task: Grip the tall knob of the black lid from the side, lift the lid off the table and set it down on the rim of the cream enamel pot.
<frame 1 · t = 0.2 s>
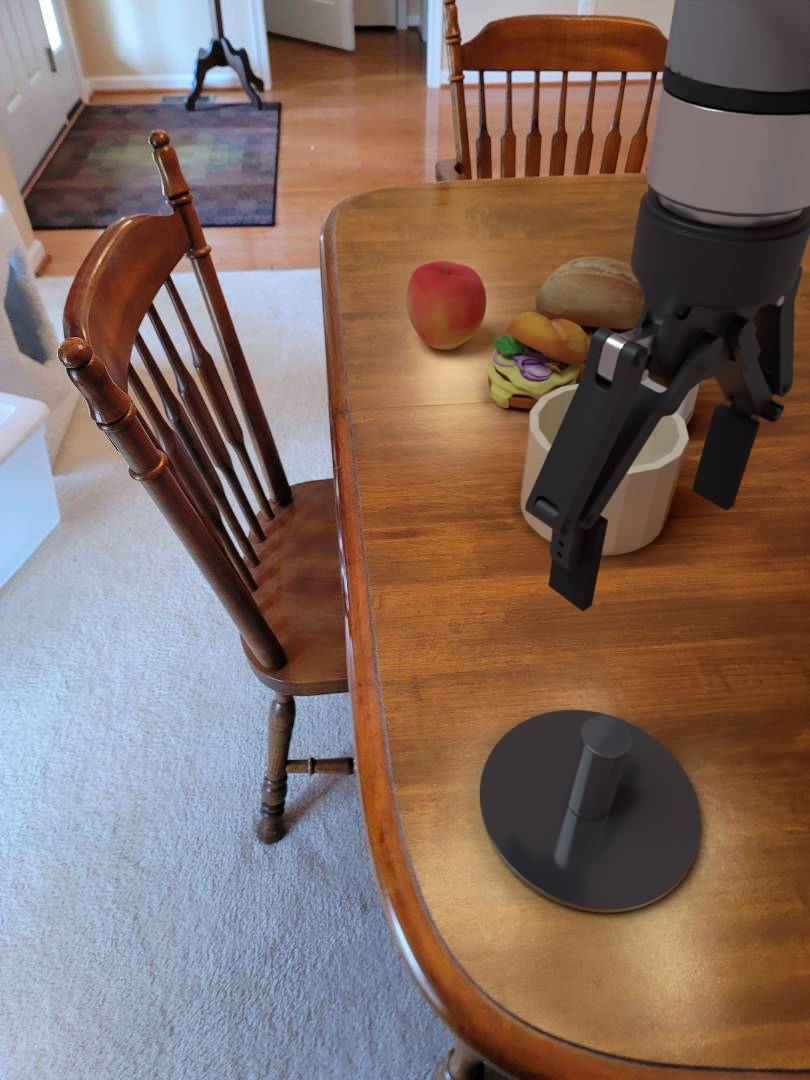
hand: (645, 544, 52), 17 cm above the table, tool pointing down, fingers open, 13 cm apart
cheeseburger: (531, 391, 94), on the table
food container: (688, 241, 124), on the table
lid: (587, 803, 56), point 1 cm above the table
pot: (591, 506, 79), on the table
bread roll: (592, 324, 106), on the table
apple: (444, 345, 102), on the table
syrup box: (657, 423, 90), on the table
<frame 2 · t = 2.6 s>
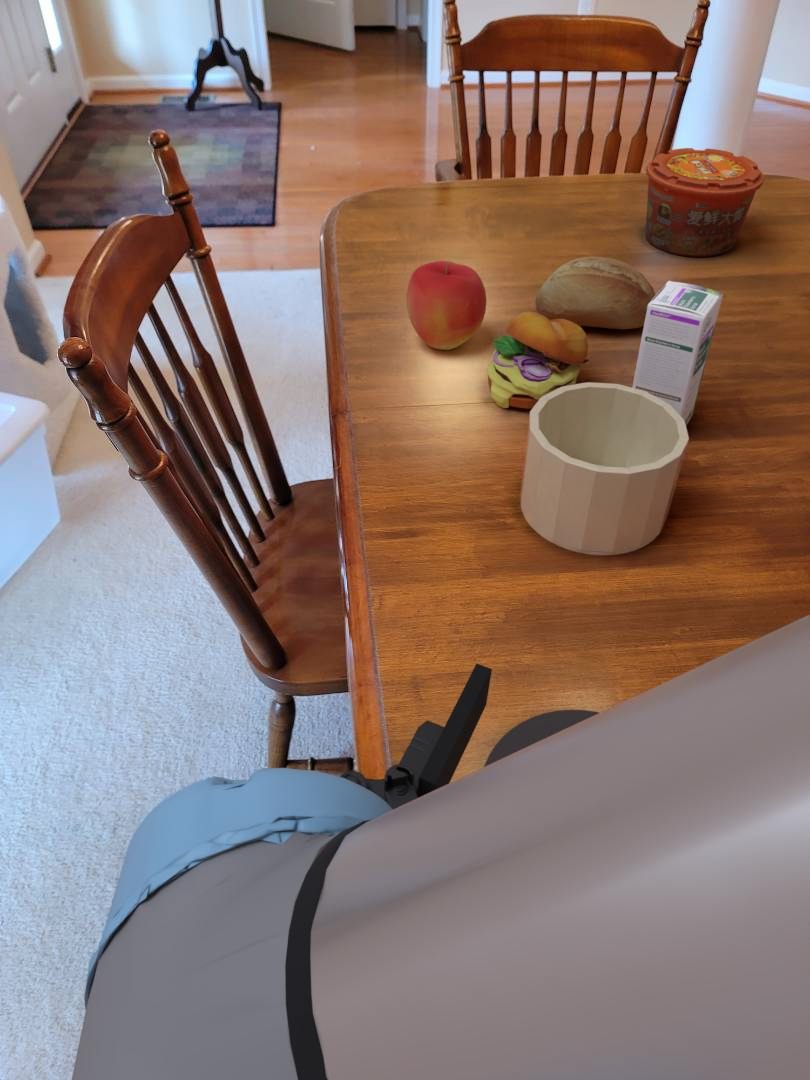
hand: (625, 737, 37), 20 cm above the table, tool horizontal, fingers open, 13 cm apart
nothing on the table moved.
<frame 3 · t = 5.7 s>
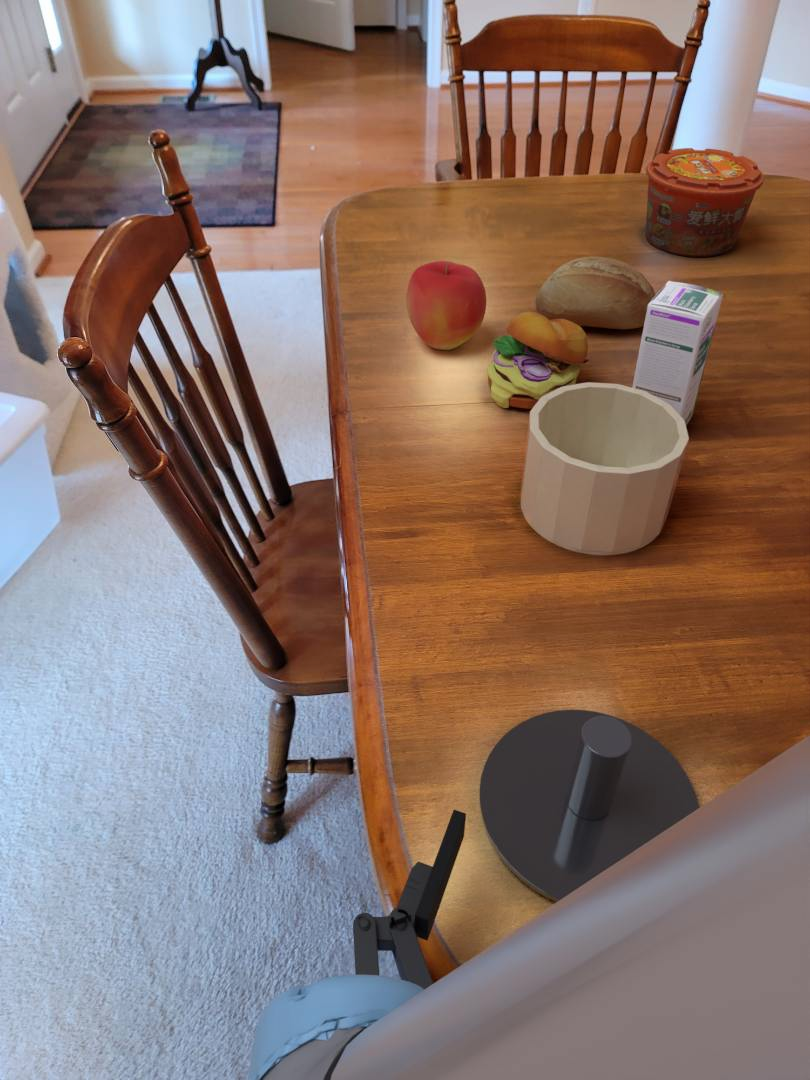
hand: (572, 861, 48), 6 cm above the table, tool horizontal, fingers open, 13 cm apart
nothing on the table moved.
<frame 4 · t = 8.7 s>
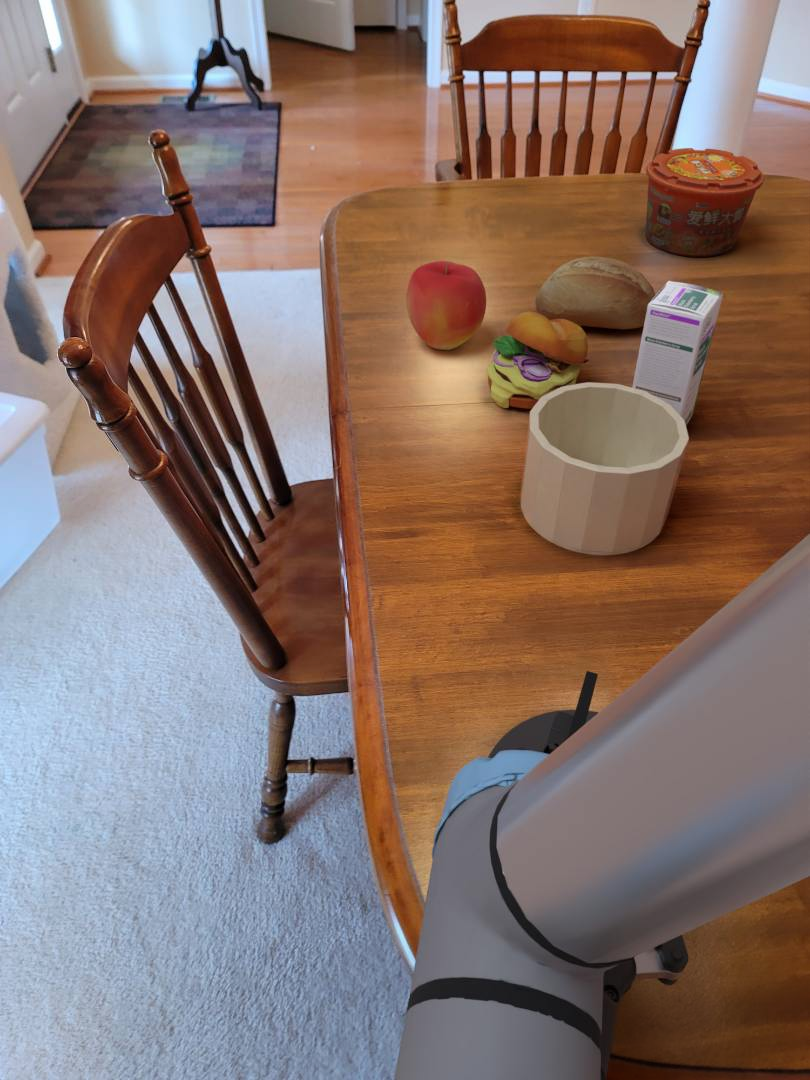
hand: (616, 693, 56), 6 cm above the table, tool horizontal, fingers closed on lid, 3 cm apart
lid: (587, 803, 56), point 1 cm above the table, touching gripper
everything else where it was.
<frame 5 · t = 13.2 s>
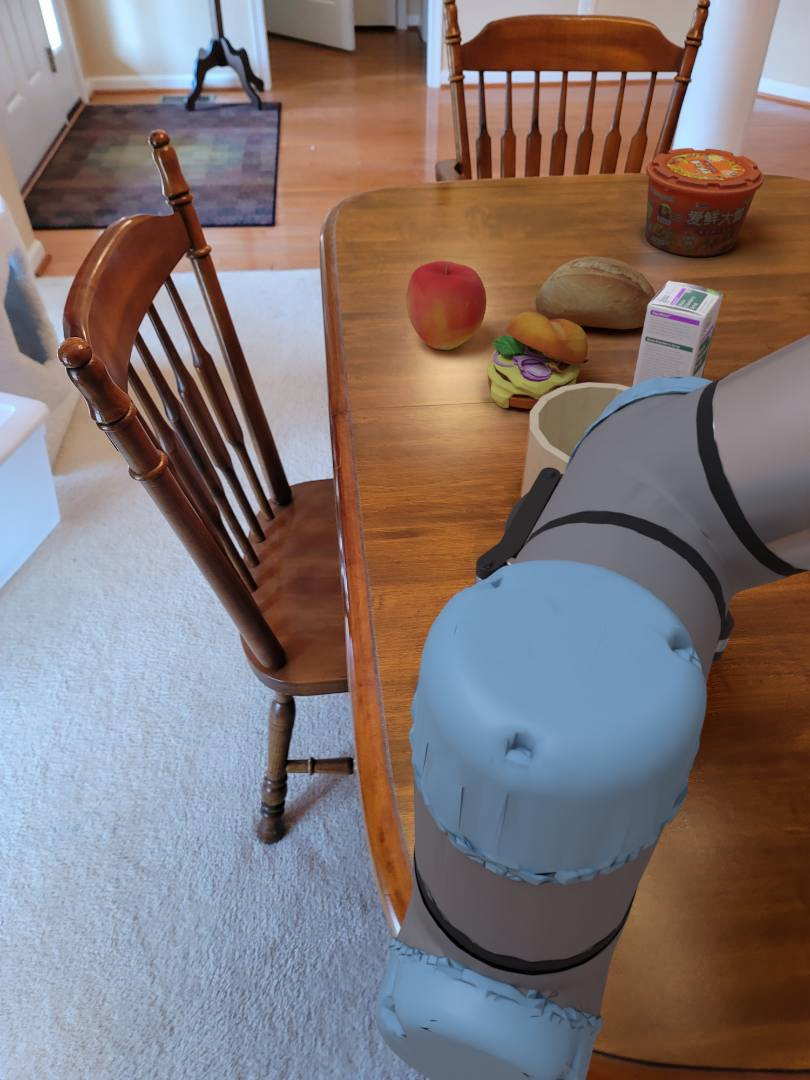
hand: (644, 433, 54), 20 cm above the table, tool horizontal, fingers closed on lid, 3 cm apart
lid: (616, 547, 54), point 15 cm above the table, touching gripper
everything else where it was.
when the fingers open (15 cm above the table, at t = 17.6 s): lid stays where it is, resting on pot.
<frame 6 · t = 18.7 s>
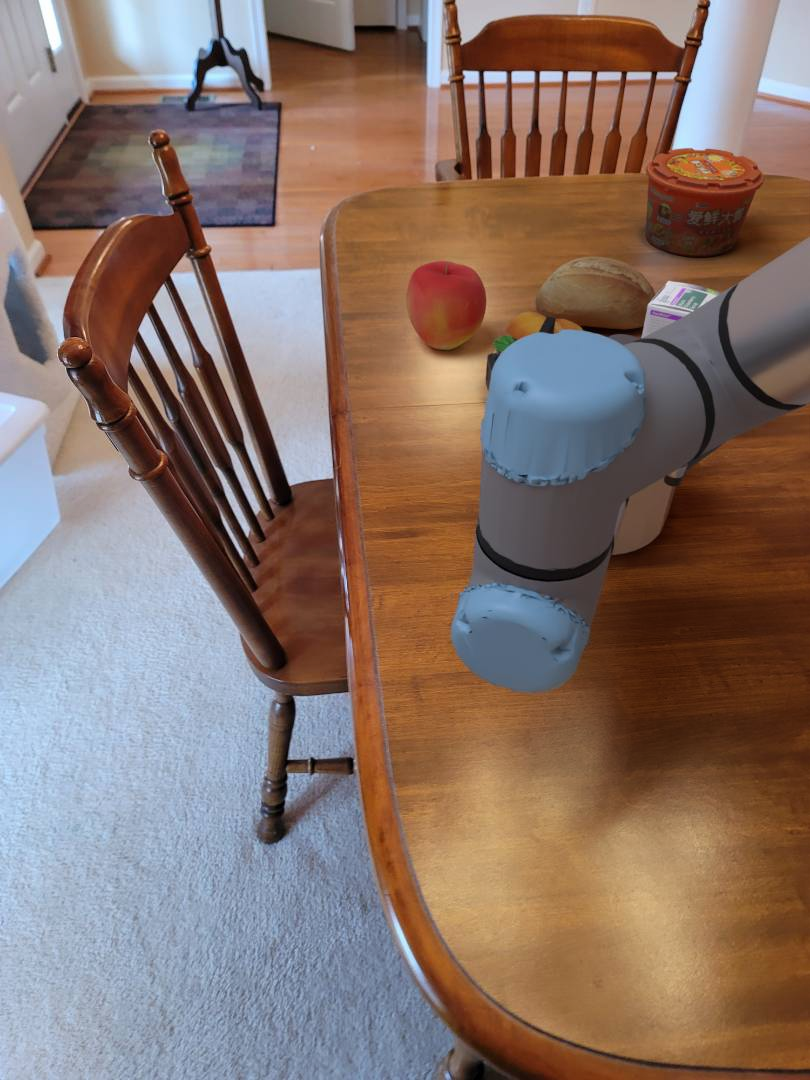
hand: (627, 344, 71), 16 cm above the table, tool horizontal, fingers open, 13 cm apart
lid: (607, 424, 73), point 9 cm above the table, touching pot
everything else where it was.
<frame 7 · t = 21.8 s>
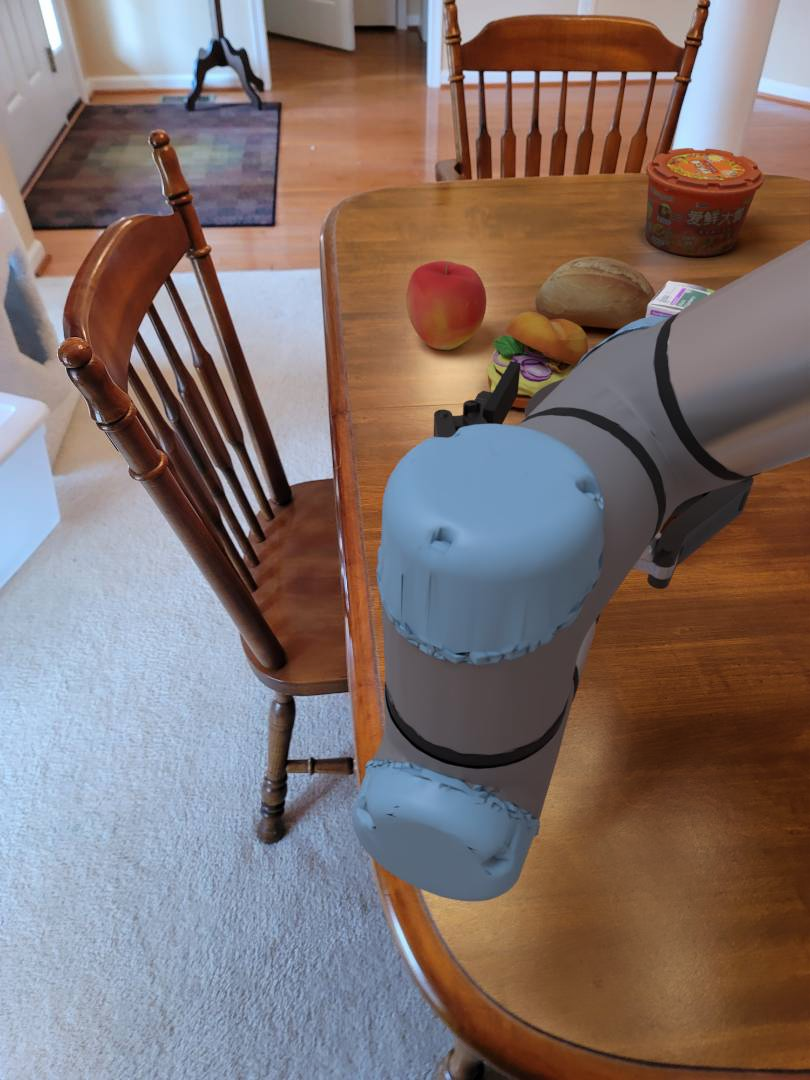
hand: (607, 396, 59), 19 cm above the table, tool horizontal, fingers open, 13 cm apart
nothing on the table moved.
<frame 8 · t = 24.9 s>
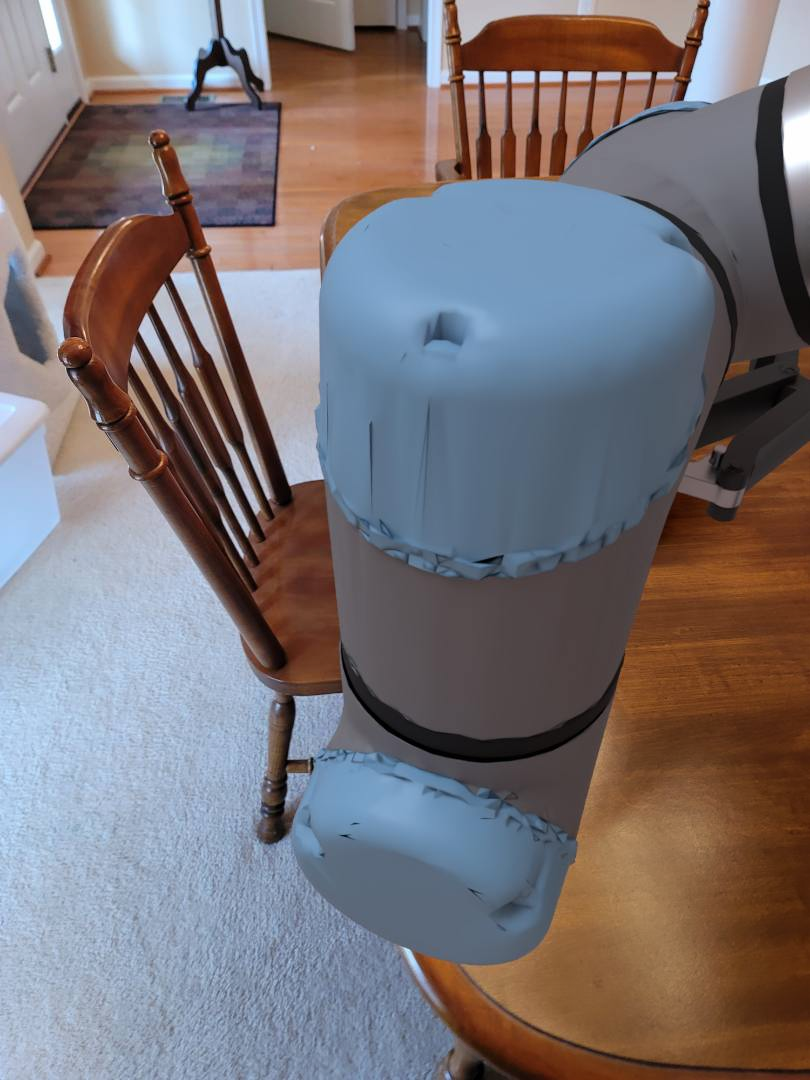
hand: (640, 296, 47), 30 cm above the table, tool horizontal, fingers open, 13 cm apart
nothing on the table moved.
at the end: lid 0.0 cm off-centre on the pot, point 9.4 cm above the pot's base; lid tilted 0°; the gripper is holding nothing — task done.
